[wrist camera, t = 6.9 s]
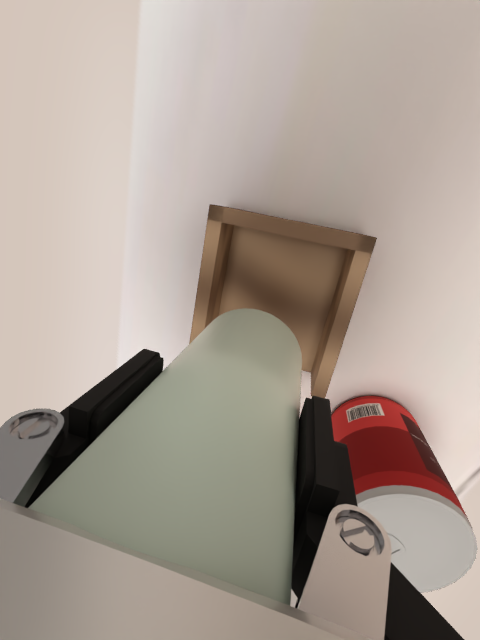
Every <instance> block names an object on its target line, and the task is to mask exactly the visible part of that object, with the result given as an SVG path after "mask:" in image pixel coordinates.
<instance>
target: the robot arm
mask: <svg viewBox="0 0 480 640" xmlns="http://www.w3.org/2000/svg"><path fill="white" fill-rule="evenodd" d="M163 361H164V360H163V358H161V357H160V354H159V353H158V352H154V351H150V350H147V349H143V350H142V351H140V352H139V353H138V354H136V355H135V356H134V357H132V358H131V359H130V360H129V361H127V362H126V363H125V364H123V365H122V366H121V367H119V368H118V369H117V370H115V371H114V372H113V373H111V374H110V375H109V376H108V377H106V378H105V379H103V380H102V381H101V382H100V383H98V384H97V385H96V386H94V387H93V388H92V389H90V390H89V391H88V392H86V393H85V394H84V395H82V396H81V397H80V398H79V399H77V400H76V401H75V402H73V403H72V404H71V405H69V406H68V407H67V408H65V409H64V410H63V411H61V412H60V413H59V412H57V411H55V410H51V409H33V410H28V411H24V412H21V413H19V414H17V415H15V416H13V417H11V418H10V419H9V420H8V421H6V422H5V423H4V424H3V425H2V426H1V428H0V640H464V639H463V638H462V637H461V636H460V635H459V634H458V633H457V632H456V631H455V629H454V628H453V627H452V626H451V625H450V624H449V623H448V622H447V621H446V620H445V619H444V618H443V617H442V616H441V615H440V614H439V612H438V611H437V610H436V609H435V608H434V607H433V606H432V605H431V604H430V603H429V602H428V601H427V600H426V599H425V598H424V596H423V595H422V594H421V593H420V592H419V591H418V590H417V589H416V588H415V587H414V586H413V585H412V584H411V583H410V581H409V580H408V579H407V578H406V577H405V576H404V575H403V574H402V573H401V572H400V571H399V570H398V569H397V568H396V567H395V566H394V564H393V563H392V562H391V553H392V548H391V541H390V538H389V536H388V534H387V532H386V530H385V529H384V527H383V526H382V524H381V523H380V522H379V521H378V520H377V519H376V518H375V517H374V516H373V515H371V514H370V513H368V512H367V511H365V510H364V509H362V508H359V507H358V505H357V499H356V494H355V488H354V482H353V476H352V470H351V464H350V459H349V453H348V448H347V445H346V444H344V443H340V442H337V441H334V436H333V427H332V418H331V410H330V401H329V400H328V399H325V398H321V397H318V396H314V395H313V396H312V399H309V398H306V399H305V402H304V406H303V409H302V412H301V416H300V419H299V436H298V457H297V478H296V499H295V520H294V541H293V562H292V583H291V589H292V590H293V592H294V593H295V595H296V597H297V600H296V603H295V606H294V607H292V606H289V605H287V604H284V603H281V602H279V601H276V600H274V599H271V598H268V597H266V596H263V595H260V594H258V593H255V592H252V591H250V590H247V589H244V588H242V587H239V586H236V585H234V584H231V583H228V582H226V581H223V580H220V579H218V578H215V577H213V576H210V575H207V574H205V573H202V572H199V571H197V570H194V569H191V568H188V567H185V566H181V565H178V564H175V563H171V562H168V561H165V560H162V559H159V558H156V557H152V556H149V555H147V554H144V553H141V552H138V551H135V550H132V549H129V548H127V547H124V546H121V545H119V544H116V543H114V542H111V541H109V540H106V539H104V538H101V537H99V536H96V535H94V534H92V533H90V532H87V531H85V530H83V529H80V528H78V527H76V526H74V525H72V524H70V523H67V522H64V521H61V520H59V519H56V518H53V517H50V516H48V515H45V514H42V513H39V512H37V511H34V510H31V509H28V508H29V507H30V506H31V505H32V503H33V502H34V501H35V500H36V499H37V498H38V497H39V496H40V495H41V494H42V493H43V492H44V491H45V490H46V489H47V488H48V487H49V486H50V485H51V484H52V483H53V482H54V481H55V480H56V479H57V478H58V477H59V476H60V475H61V474H62V473H63V472H64V471H65V470H66V469H67V468H68V467H69V466H70V465H71V464H72V463H73V462H74V461H75V460H76V459H77V458H78V457H79V456H80V455H81V454H82V453H83V452H84V451H85V450H86V449H87V448H88V447H89V446H90V445H91V444H92V443H93V442H94V441H95V440H96V439H97V438H98V437H99V435H100V434H101V433H102V432H103V431H104V430H105V429H106V428H107V427H108V426H109V425H110V424H111V423H112V422H113V421H114V420H115V419H116V418H117V417H118V416H119V415H120V414H121V413H122V412H123V411H124V410H125V409H126V408H127V407H128V406H129V405H130V404H131V403H132V402H133V401H134V400H135V399H136V398H137V397H138V396H139V395H140V394H141V393H142V392H143V391H144V390H145V389H146V388H147V387H148V386H149V385H150V384H151V383H152V382H153V381H154V380H155V379H156V378H157V377H158V376H159V375H160V374H161V373H162V370H163Z"/></svg>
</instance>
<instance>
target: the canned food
mask: <svg viewBox="0 0 480 640" xmlns="http://www.w3.org/2000/svg"><path fill="white" fill-rule="evenodd" d="M331 418H332V427H333V436H334V441H337V442H340V443H344V444H346V445H347V448H348V453H349V459H350V464H351V470H352V476H353V482H354V488H355V494H356V499H357V505H358V507H359V508H362V509H364V510H365V511H367V512H368V513H370V514H371V515H373V516H374V517H375V518H376V519H377V520H378V521H379V522H380V523H381V524H382V526H383V527H384V529H385V530H386V532H387V534H388V536H389V538H390V541H391V548H392V553H391V562H392V563H393V564H394V566H395V567H396V568H397V569H398V570H399V571H400V572H401V573H402V574H403V575H404V576H405V577H406V578H407V579H408V580H409V581H410V583H411V584H412V585H413V586H414V587H415V588H416V589H417V590H418V591H419V592H420V593H422V592H430V591H434V590H438V589H441V588H444V587H446V586H448V585H450V584H452V583H455V582H456V581H457V580H459V579H460V578H461V577H463V576H464V575H465V574H466V573H467V571H468V570H469V569H470V568H471V566H472V564H473V562H474V560H475V558H476V552H477V543H476V537H475V535H474V533H473V530H472V527H471V524H470V522H469V520H468V518H467V516H466V514H465V512H464V510H463V508H462V507H461V504H460V502H459V500H458V498H457V496H456V494H455V493H454V491H453V489H452V487H451V485H450V483H449V482H448V480H447V478H446V476H445V474H444V472H443V470H442V469H441V467H440V465H439V463H438V461H437V459H436V457H435V456H434V454H433V452H432V450H431V448H430V446H429V445H428V443H427V441H426V439H425V437H424V435H423V433H422V432H421V430H420V428H419V426H418V424H417V422H416V420H415V419H414V418H413V416H412V415H411V414H410V413H409V412H408V411H407V410H406V409H405V408H403V407H402V406H401V405H399V404H398V403H396V402H394V401H392V400H390V399H387V398H384V397H378V396H363V397H358V398H355V399H352V400H349V401H347V402H346V403H344V404H342V405H341V406H340V407H338V408H337V409H336V410H335V412H334V413H333V414H332V416H331Z"/></svg>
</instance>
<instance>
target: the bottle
mask: <svg viewBox="0 0 480 640" xmlns="http://www.w3.org/2000/svg"><path fill="white" fill-rule="evenodd" d="M301 373H302V354H301V350H300V346H299V343H298V341H297V339H296V337H295V335H294V334H293V332H292V331H291V330H290V329H289V327H288V326H287V325H286V324H285V323H283V322H282V321H281V320H280V319H278V318H277V317H275V316H273V315H271V314H269V313H267V312H264V311H261V310H256V309H247V308H244V309H236V310H231V311H228V312H226V313H224V314H222V315H220V316H218V317H217V318H215V319H214V320H213V321H212V322H211V323H210V324H209V325H208V326H207V327H206V328H205V329H204V330H203V331H202V332H201V333H200V334H199V335H198V336H197V337H196V338H195V339H194V340H193V341H192V342H191V343H190V344H189V345H188V346H187V347H186V348H185V349H184V350H183V351H182V352H181V353H180V354H179V355H178V356H177V357H176V358H175V359H174V360H173V361H172V362H171V363H170V364H169V365H168V366H167V367H166V368H165V370H164V371H163V372H162V373H161V374H160V375H159V376H158V377H157V378H156V379H155V380H154V381H153V382H152V383H151V384H150V385H149V386H148V387H147V388H146V389H145V390H144V391H143V392H142V393H141V394H140V395H139V396H138V397H137V398H136V399H135V400H134V401H133V402H132V403H131V404H130V405H129V406H128V407H127V408H126V409H125V410H124V411H123V412H122V413H121V414H120V415H119V416H118V417H117V418H116V419H115V420H114V421H113V422H112V423H111V424H110V425H109V426H108V427H107V428H106V429H105V430H104V431H103V432H102V433H101V434H100V435H99V437H98V438H97V439H96V440H95V441H94V442H93V443H92V444H91V445H90V446H89V447H88V448H87V449H86V450H85V451H84V452H83V453H82V454H81V455H80V456H79V457H78V458H77V459H76V460H75V461H74V462H73V463H72V464H71V465H70V466H69V467H68V468H67V469H66V470H65V471H64V472H63V473H62V474H61V475H60V476H59V477H58V478H57V479H56V480H55V481H54V482H53V483H52V484H51V485H50V486H49V487H48V488H47V489H46V490H45V491H44V492H43V493H42V494H41V495H40V496H39V497H38V498H37V499H36V500H35V501H34V502H33V503H32V505H31V506H30V507H29V508H28V509H31V510H34V511H37V512H39V513H42V514H45V515H48V516H50V517H53V518H56V519H59V520H61V521H64V522H67V523H70V524H72V525H74V526H76V527H78V528H80V529H83V530H85V531H87V532H90V533H92V534H94V535H96V536H99V537H101V538H104V539H106V540H109V541H111V542H114V543H116V544H119V545H121V546H124V547H127V548H129V549H132V550H135V551H138V552H141V553H144V554H147V555H149V556H152V557H156V558H159V559H162V560H165V561H168V562H171V563H175V564H178V565H181V566H185V567H188V568H191V569H194V570H197V571H199V572H202V573H205V574H207V575H210V576H213V577H215V578H218V579H220V580H223V581H226V582H228V583H231V584H234V585H236V586H239V587H242V588H244V589H247V590H250V591H252V592H255V593H258V594H260V595H263V596H266V597H268V598H271V599H274V600H276V601H279V602H281V603H284V604H287V605H289V606H290V604H291V583H292V562H293V541H294V520H295V499H296V478H297V457H298V436H299V415H300V394H301Z"/></svg>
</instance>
